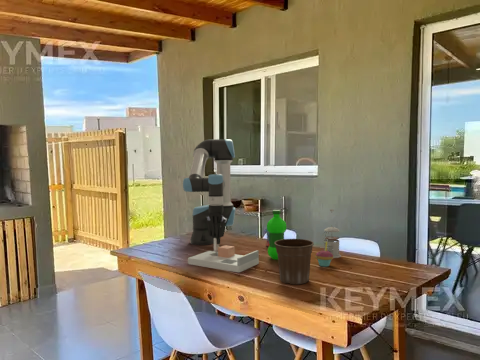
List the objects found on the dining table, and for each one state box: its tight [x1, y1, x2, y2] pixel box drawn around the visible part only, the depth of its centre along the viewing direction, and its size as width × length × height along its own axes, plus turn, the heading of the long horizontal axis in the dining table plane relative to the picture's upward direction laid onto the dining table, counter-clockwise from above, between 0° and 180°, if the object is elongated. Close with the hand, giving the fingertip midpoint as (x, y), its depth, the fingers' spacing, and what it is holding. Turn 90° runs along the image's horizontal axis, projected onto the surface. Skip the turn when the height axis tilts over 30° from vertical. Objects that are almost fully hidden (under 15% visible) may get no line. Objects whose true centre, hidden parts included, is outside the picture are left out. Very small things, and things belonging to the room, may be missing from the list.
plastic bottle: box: [266, 209, 287, 261], centre depth 196 cm, size 10×10×25 cm
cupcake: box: [315, 240, 334, 268], centre depth 182 cm, size 9×8×12 cm
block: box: [217, 244, 236, 258], centre depth 190 cm, size 6×6×4 cm
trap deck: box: [187, 250, 260, 273], centre depth 186 cm, size 30×18×6 cm, turn 58°
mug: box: [264, 227, 269, 247], centre depth 225 cm, size 12×9×11 cm
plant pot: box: [274, 238, 314, 285], centre depth 159 cm, size 16×16×16 cm
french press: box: [322, 208, 342, 259], centre depth 201 cm, size 10×12×25 cm
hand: (216, 250), depth 194 cm, fingers closed
